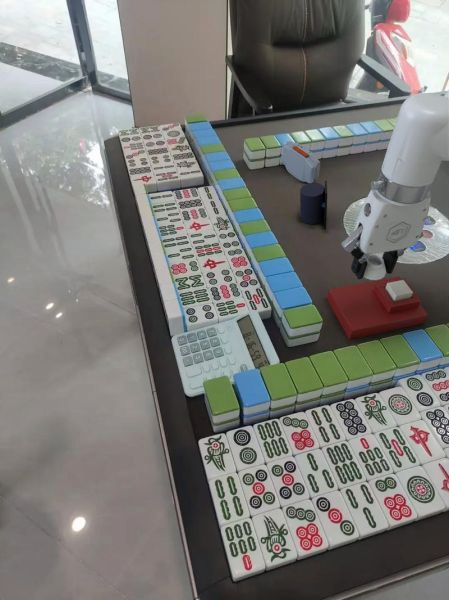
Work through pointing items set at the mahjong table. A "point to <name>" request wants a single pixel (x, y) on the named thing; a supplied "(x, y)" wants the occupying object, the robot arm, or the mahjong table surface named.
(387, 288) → the white square block
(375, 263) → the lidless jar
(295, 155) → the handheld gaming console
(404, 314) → the red rectangular stepped block
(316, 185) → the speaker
